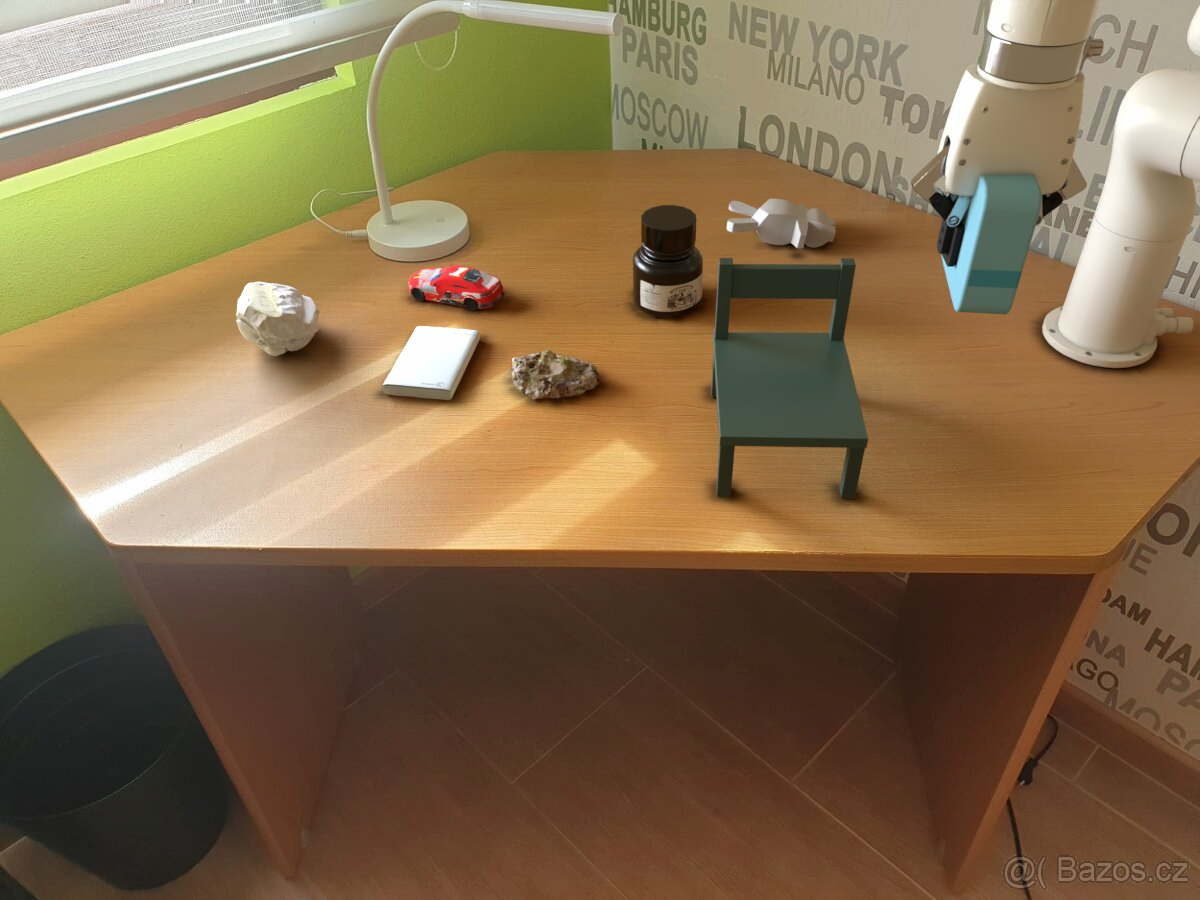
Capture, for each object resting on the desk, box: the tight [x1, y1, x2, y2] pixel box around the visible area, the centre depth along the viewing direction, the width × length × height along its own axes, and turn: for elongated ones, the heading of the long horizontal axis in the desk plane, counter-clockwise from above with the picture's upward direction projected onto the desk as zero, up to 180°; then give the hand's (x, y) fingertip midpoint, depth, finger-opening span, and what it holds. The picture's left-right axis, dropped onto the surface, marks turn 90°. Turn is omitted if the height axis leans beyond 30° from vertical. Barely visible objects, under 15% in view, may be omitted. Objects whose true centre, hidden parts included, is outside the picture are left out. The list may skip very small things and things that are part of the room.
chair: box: [710, 257, 869, 500], centre depth 97 cm, size 14×18×17 cm
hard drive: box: [382, 325, 481, 401], centre depth 115 cm, size 2×8×12 cm
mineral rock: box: [510, 349, 602, 400], centre depth 111 cm, size 11×4×8 cm
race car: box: [407, 264, 505, 312], centre depth 126 cm, size 13×5×4 cm, turn 68°
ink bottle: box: [632, 204, 704, 319], centre depth 121 cm, size 10×9×12 cm
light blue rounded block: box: [941, 174, 1042, 315], centre depth 85 cm, size 12×4×12 cm, turn 172°
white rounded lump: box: [235, 281, 320, 357], centre depth 117 cm, size 12×8×10 cm
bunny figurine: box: [726, 198, 836, 249], centre depth 135 cm, size 10×5×15 cm
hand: (978, 257), depth 87 cm, fingers closed on light blue rounded block, 4 cm apart
